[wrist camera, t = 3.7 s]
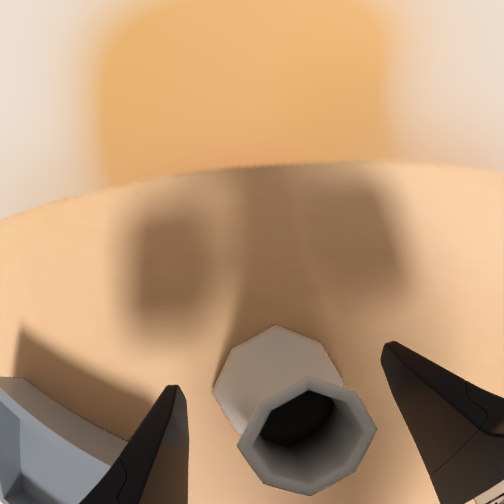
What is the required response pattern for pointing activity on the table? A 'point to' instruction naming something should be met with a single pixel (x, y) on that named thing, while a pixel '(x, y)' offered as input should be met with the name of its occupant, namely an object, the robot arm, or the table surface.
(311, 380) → the flask
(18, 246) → the table surface
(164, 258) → the table surface
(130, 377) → the table surface
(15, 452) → the tray
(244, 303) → the table surface
